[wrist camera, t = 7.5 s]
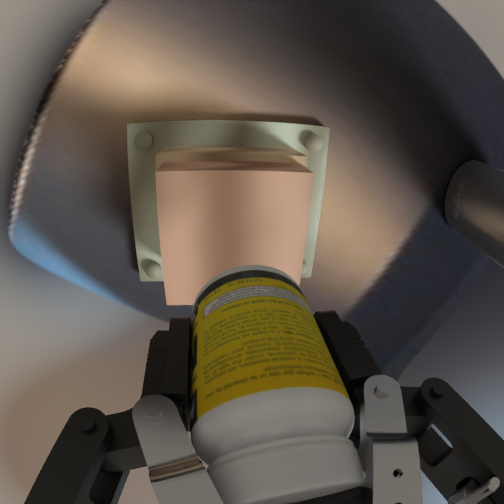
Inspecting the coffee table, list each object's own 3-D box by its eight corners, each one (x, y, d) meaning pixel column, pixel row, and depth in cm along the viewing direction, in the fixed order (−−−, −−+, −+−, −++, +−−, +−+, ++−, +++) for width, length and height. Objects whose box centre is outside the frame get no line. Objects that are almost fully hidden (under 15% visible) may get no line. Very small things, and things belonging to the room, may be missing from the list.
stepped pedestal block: (324, 126, 24) (370, 137, 16) (307, 270, 30) (335, 323, 23) (130, 123, 22) (95, 132, 14) (142, 274, 28) (125, 331, 21)
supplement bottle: (173, 283, 12) (153, 504, 4) (289, 244, 11) (392, 451, 4) (217, 361, 14) (233, 533, 6) (312, 331, 14) (378, 496, 6)
